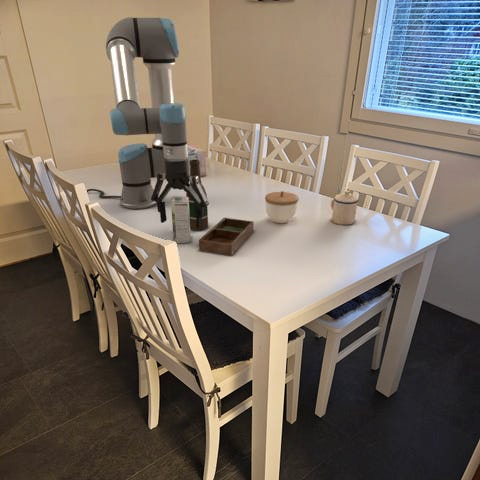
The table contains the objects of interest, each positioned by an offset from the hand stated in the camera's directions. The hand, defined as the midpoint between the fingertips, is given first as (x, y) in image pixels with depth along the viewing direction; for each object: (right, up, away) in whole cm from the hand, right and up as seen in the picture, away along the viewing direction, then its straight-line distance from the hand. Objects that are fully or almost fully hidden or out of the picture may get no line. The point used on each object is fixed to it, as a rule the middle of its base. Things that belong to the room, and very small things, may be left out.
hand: (181, 223), depth 143 cm
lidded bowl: (+36, +6, +20) cm, 42 cm away
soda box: (-13, +49, +84) cm, 98 cm away
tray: (+16, -5, +3) cm, 17 cm away
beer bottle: (+4, +2, +14) cm, 15 cm away
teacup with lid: (+59, +6, +20) cm, 63 cm away
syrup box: (0, -5, +4) cm, 6 cm away
